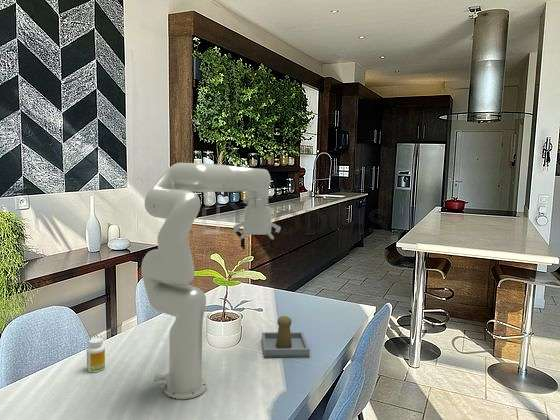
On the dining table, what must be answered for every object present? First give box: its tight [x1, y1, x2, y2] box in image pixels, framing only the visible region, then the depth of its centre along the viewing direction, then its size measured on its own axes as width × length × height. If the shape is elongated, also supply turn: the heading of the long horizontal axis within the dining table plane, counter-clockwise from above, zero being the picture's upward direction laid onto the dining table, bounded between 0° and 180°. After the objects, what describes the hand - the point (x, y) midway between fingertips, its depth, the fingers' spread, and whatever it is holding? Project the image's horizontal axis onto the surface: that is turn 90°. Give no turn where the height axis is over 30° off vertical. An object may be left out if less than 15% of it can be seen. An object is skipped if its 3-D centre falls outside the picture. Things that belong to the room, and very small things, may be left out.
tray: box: [261, 331, 311, 359], centre depth 164 cm, size 16×16×3 cm
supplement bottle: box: [86, 337, 106, 373], centre depth 143 cm, size 5×5×10 cm
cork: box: [276, 315, 292, 349], centre depth 163 cm, size 6×6×11 cm
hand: (256, 249), depth 163 cm, fingers open, 9 cm apart
